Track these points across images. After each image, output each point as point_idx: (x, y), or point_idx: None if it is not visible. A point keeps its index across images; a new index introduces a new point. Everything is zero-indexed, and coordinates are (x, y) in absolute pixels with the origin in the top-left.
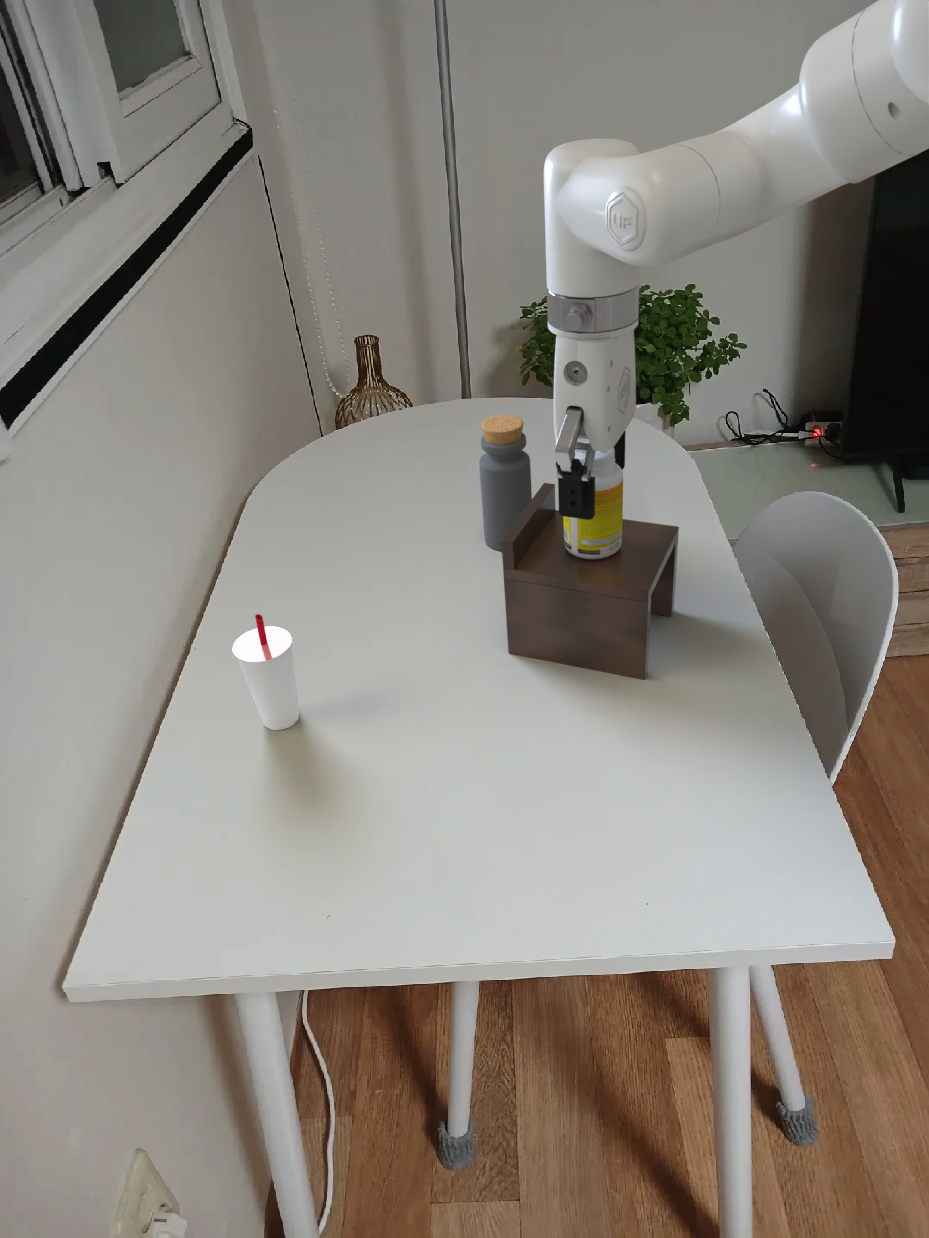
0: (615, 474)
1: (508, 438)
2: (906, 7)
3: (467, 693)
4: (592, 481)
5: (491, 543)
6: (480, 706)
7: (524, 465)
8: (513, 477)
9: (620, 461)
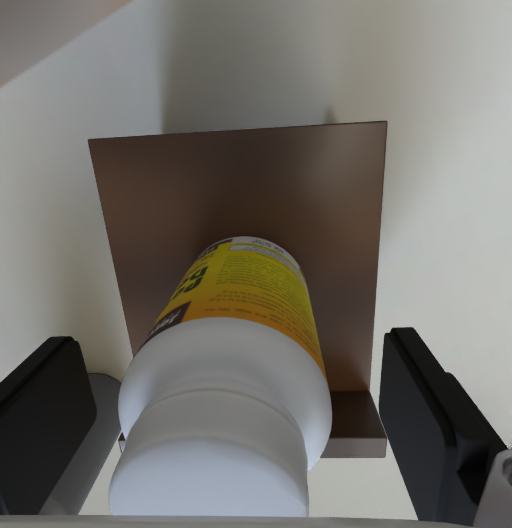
0: (234, 354)
1: None
2: None
3: (425, 328)
4: (485, 433)
5: None
6: (445, 305)
7: None
8: (58, 482)
9: (59, 361)
